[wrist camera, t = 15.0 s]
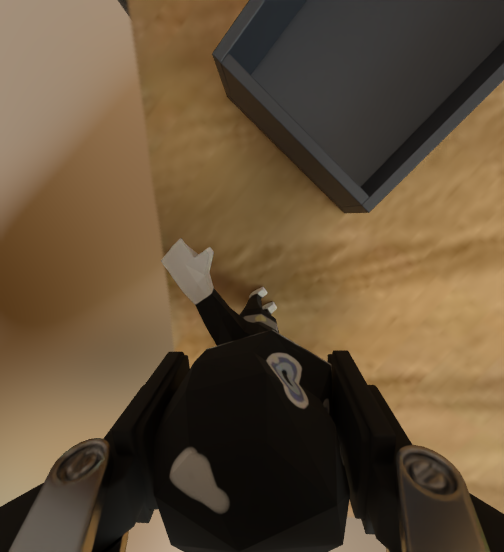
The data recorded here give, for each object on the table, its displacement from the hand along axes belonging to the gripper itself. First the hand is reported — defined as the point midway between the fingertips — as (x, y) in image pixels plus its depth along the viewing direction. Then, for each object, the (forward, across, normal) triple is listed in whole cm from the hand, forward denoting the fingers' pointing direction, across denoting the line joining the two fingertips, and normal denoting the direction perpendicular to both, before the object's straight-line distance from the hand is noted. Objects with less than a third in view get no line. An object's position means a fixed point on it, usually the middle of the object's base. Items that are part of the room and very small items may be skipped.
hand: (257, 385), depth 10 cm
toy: (+10, 0, 0) cm, 10 cm away
